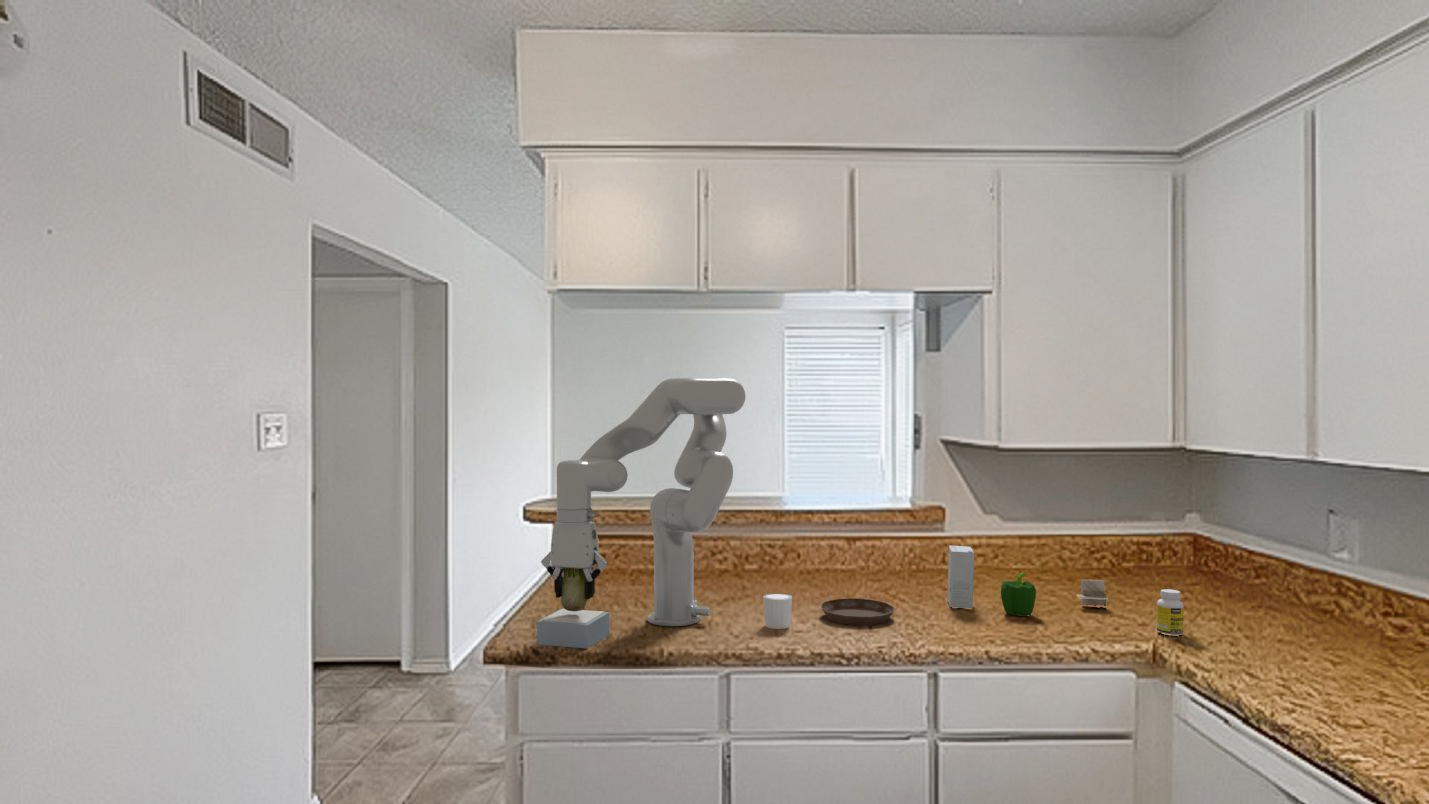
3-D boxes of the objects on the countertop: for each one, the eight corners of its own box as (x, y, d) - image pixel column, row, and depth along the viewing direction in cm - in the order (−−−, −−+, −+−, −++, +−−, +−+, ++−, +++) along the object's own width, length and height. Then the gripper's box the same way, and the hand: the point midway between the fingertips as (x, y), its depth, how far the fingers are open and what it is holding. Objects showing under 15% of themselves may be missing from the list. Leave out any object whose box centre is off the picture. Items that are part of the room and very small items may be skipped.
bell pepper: (1018, 620, 220) (1018, 578, 220) (994, 612, 227) (994, 572, 227) (1044, 616, 223) (1044, 575, 223) (1019, 609, 231) (1020, 569, 231)
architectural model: (1108, 612, 229) (1108, 583, 229) (1078, 611, 230) (1079, 582, 230) (1105, 609, 232) (1105, 580, 232) (1076, 608, 234) (1076, 579, 234)
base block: (609, 634, 207) (609, 611, 207) (587, 648, 195) (587, 623, 195) (560, 630, 210) (560, 607, 210) (536, 644, 198) (536, 620, 198)
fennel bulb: (590, 611, 202) (590, 557, 202) (572, 615, 199) (572, 560, 199) (575, 607, 206) (575, 553, 206) (557, 610, 203) (556, 556, 203)
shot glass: (762, 622, 218) (762, 592, 218) (791, 622, 218) (791, 593, 218) (763, 629, 211) (763, 599, 211) (793, 629, 211) (793, 599, 211)
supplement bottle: (1171, 638, 203) (1171, 594, 203) (1151, 632, 208) (1151, 589, 208) (1188, 635, 206) (1189, 592, 206) (1168, 630, 211) (1168, 587, 211)
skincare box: (947, 601, 240) (947, 545, 239) (970, 602, 239) (971, 545, 239) (950, 609, 231) (950, 550, 231) (974, 609, 230) (974, 551, 230)
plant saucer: (905, 626, 215) (905, 613, 215) (832, 629, 212) (832, 616, 212) (879, 609, 232) (879, 597, 232) (812, 611, 230) (812, 599, 229)
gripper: (616, 515, 204) (617, 595, 204) (546, 512, 208) (546, 591, 208) (603, 520, 196) (604, 603, 197) (530, 517, 201) (531, 598, 201)
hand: (574, 596), depth 202 cm, fingers closed on fennel bulb, 6 cm apart
